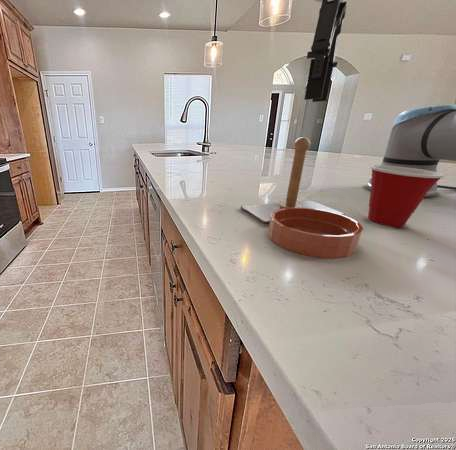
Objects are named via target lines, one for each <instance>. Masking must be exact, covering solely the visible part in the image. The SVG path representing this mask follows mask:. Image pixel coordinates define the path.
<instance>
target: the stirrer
mask: <svg viewBox="0 0 456 450" xmlns="http://www.w3.org/2000/svg"><path fill="white" fill-rule="evenodd" d="M292 147H293V150H294V154H293V161H292V164H291V165H292V166H291V171H290V175H289V182H288V186H287V193H286V198H285V201H283V202H279V203H280V204H279V209H283V208H301V207H302V206H301V205H299V204H297V203H296V201H297V200H298V196H299V190H300V185H301V179H302V174H303V169H304V166H305V165H304V164H305V161H306V154H307V151H308V150H309V148H310V147H311V141H310V139H309V138H308V137H305V136H302V137H299V138H297V139H296V140H295V141H294V142H293V146H292Z"/></svg>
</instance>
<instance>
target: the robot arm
mask: <svg viewBox="0 0 456 450" xmlns="http://www.w3.org/2000/svg"><path fill="white" fill-rule="evenodd" d="M314 1H315V2H318V3H321V6H320V8H319V11H318V17H317V18H318V19H317V23H316V28H315V31H314V36H313V42H312V45H311V47H310V50H311V51H307V55H306V59H307V60H310V59H311V60H310V64H309V69H308V70H309V71H308V77H307V83H306V88H305V94H304V101H308V100H312V103H318V102H327V101H328V96H329V90H330V85H331V80H332V76H333V70H334V68H337V67H338V63H339V62H338V61H336V60H335V59H336V54H337V48H338V42H339V36H340V34H341V33H342V30H343V29H342V28H343V23H344V19H345V17H346V13H347V9H348V6H347V1H344V0H314ZM440 160H442V161H444V160H445V161H450V162H456V104H441V105H434V106H425V107H419V108H413V109H408V110H405V111H402V112H400V113H399V114H398V115H397V117H396V119H395V121H394V124H393V126H392V128H391V132H390V136H389V138H388V142H387V145H386V149H385V151H384V155H383V158H382V161H381V164H380V165H386V166H398V167H407V168H415V169H422V170H428V171H433V172H437V167H438V164H439V162H440ZM371 180H372V177H371V178H370V179H369V180H368V182H367V184H366V188H367V189H368V190H369V191H371V184H372V182H371ZM438 189H445V190H446V189H447V190H456V186H448V185H441V184H440V185H439V184H438V181H437V182H436V183H435V184H434V185H433V186H432V187H431V189H429V191H428V192H427V194H426V195H425V196H424V198H430V197H434V196H435V195H436V193H437V191H438Z"/></svg>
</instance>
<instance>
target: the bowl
mask: <svg viewBox="0 0 456 450" xmlns="http://www.w3.org/2000/svg"><path fill="white" fill-rule="evenodd" d="M268 225H269V227H268V232H267V236H268V237H269V239H270V240H271V241H272V242H273V243H274V244H276V245H277V246H279V247H281V248H283V249H285V250H287V251H290V252H294V253H297V254H299V255H302V256H303V255H304V256H309V257H314V258H321V259H338V258H339V259H340V258H346V257H349V256H352V255H354V254H355V253H356V251H357V249H358V245H359V242H360V239H361V237H362V234H363V231H364V227H363V225H362V224H361V223H360V222H358V221H357V220H355V219H354V218H352V217H349V216H347V215H345V216H344V215H342V214H338V213H334V212H331V211H326V210H320V209H312V208H283V209H279V210H276V211H274V212H273V213H272V214H271V219H270V224H268Z"/></svg>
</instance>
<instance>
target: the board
mask: <svg viewBox="0 0 456 450" xmlns="http://www.w3.org/2000/svg"><path fill="white" fill-rule="evenodd" d="M280 203H281V202H273V203H262V204H252V205H251V204H250V205H241V206H240V210H242V211H243V212H245V213H246V214H248V215H250V216H251V217H252V218H254V219H255V220H257V221H258V222H259V223H261V224H262V225H270V219H271V214H272V213H273V212H274V211H276V210H279V204H280ZM296 203H297V204H299V205H301V206H302V207H301V208H312V209H320V210H326V211H331V212H334V213H338V214H342V215H344V216H346V213H344V212H342V211H339V210H337V209H334V208H332V207H329V206H326V205H325V204H321V203H318V202H316V201H313V200H311V199H309V200H308V199H307V200H298V201H296Z"/></svg>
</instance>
